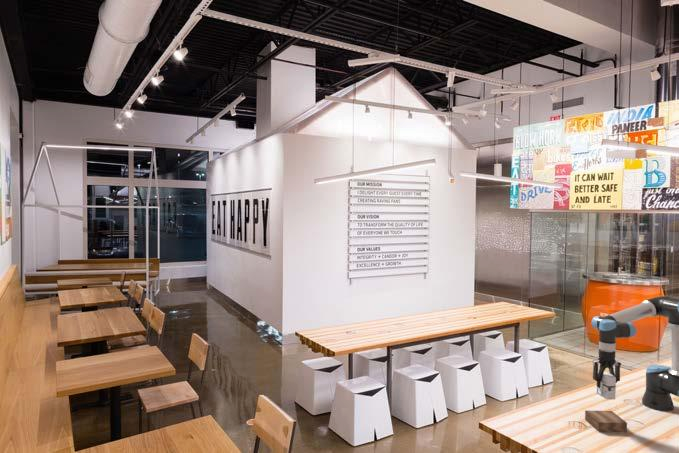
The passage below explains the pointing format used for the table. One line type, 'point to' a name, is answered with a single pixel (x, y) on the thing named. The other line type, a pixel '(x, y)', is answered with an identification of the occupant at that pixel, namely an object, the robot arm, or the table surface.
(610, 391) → the ink box
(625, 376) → the table surface
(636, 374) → the table surface
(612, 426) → the walnut pedestal
